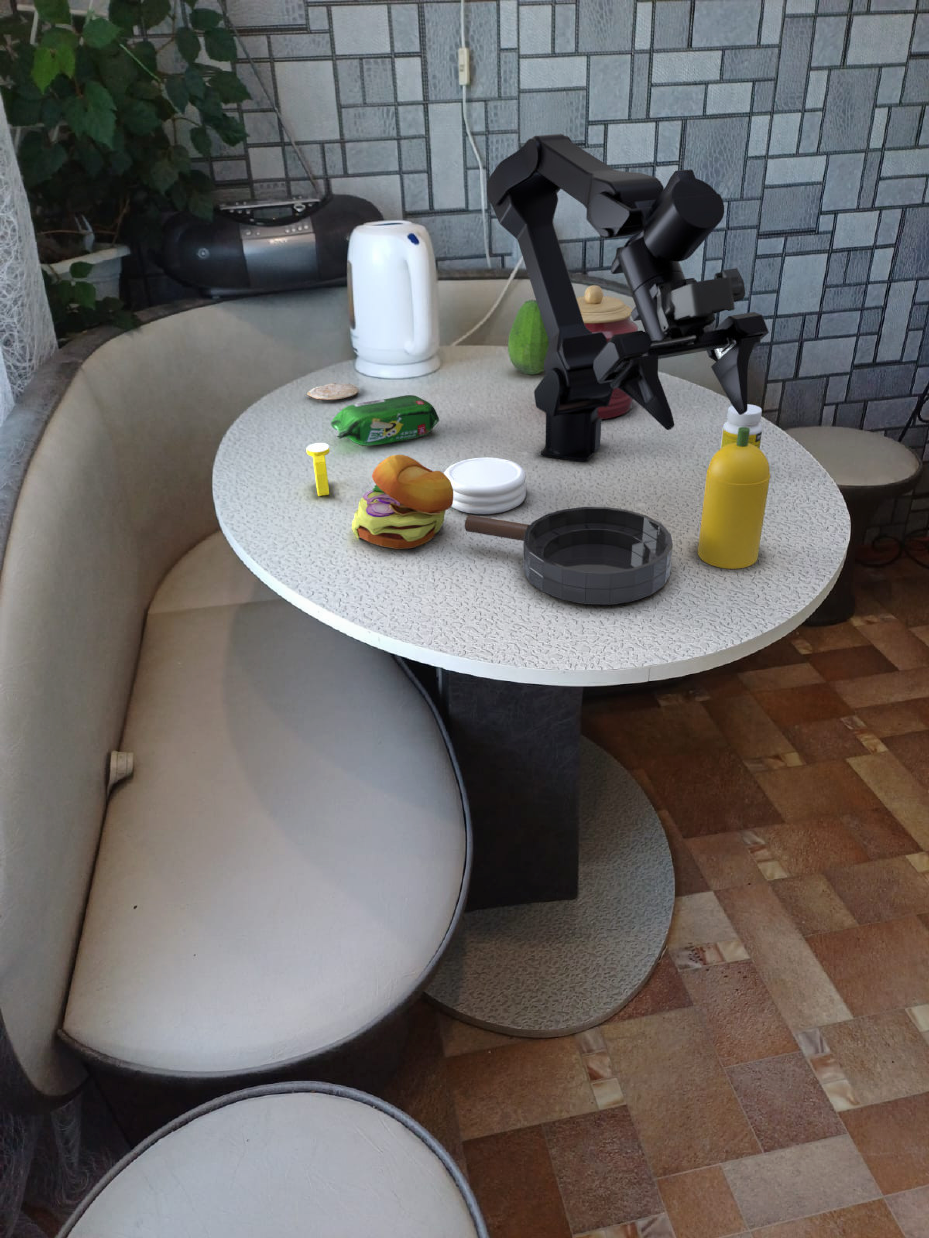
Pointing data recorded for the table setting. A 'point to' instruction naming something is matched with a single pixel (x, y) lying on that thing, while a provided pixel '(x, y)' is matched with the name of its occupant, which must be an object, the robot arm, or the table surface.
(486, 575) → the table surface
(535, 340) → the avocado
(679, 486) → the table surface
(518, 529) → the handle
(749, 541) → the pepper
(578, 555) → the dark grey frying pan
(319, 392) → the flatbread
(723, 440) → the supplement bottle
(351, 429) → the snack package
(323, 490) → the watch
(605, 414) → the kitchen canister
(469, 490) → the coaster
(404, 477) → the cheeseburger
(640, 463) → the table surface
